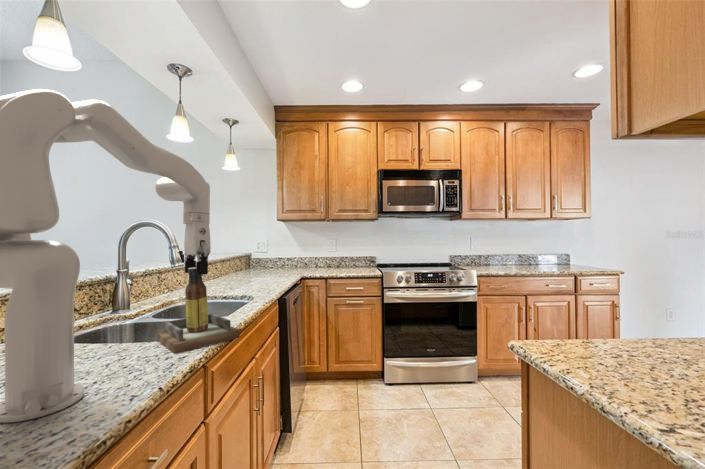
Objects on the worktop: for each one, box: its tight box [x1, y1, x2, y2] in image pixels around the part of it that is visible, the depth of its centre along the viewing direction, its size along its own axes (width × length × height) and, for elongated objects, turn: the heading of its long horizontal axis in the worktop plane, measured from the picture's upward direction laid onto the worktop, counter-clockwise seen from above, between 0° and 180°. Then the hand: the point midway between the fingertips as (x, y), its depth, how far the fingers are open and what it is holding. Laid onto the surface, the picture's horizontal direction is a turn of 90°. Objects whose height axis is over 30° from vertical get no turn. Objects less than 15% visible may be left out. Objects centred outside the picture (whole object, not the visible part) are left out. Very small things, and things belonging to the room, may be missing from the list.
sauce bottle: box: [184, 267, 209, 332], centre depth 101 cm, size 6×6×20 cm
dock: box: [156, 313, 240, 355], centre depth 100 cm, size 16×19×6 cm
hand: (195, 273), depth 101 cm, fingers open, 9 cm apart
